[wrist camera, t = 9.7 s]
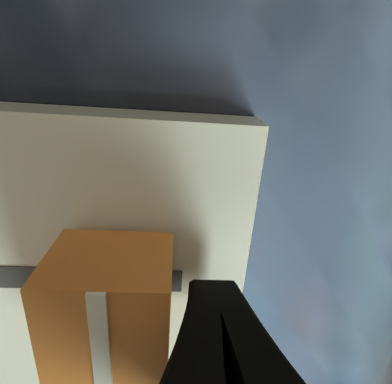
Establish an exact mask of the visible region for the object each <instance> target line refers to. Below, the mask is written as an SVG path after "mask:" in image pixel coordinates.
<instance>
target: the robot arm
mask: <svg viewBox="0 0 392 384" xmlns="http://www.w3.org/2000/svg"><path fill="white" fill-rule="evenodd" d="M159 384H306V383H305V382H304V380H303V379H302V378H301V377H300V375H299V374H298V373H297V372H296V370H295V369H294V368H293V366H292V365H291V364H290V363H289V361H288V360H287V359H286V357H285V356H284V355H283V353H282V352H281V351H280V349H279V348H278V346H277V345H276V344H275V342H274V341H273V339H272V338H271V337H270V335H269V334H268V332H267V331H266V330H265V328H264V327H263V325H262V324H261V322H260V321H259V319H258V318H257V316H256V315H255V313H254V311H253V310H252V308H251V307H250V305H249V304H248V302H247V300H246V299H245V297H244V295H243V294H242V292H241V290H240V289H239V287H238V285H237V284H236V283H235V281H234V280H197V279H193V280H192V281H190V282H189V288H188V300H187V305H186V309H185V313H184V317H183V320H182V323H181V327H180V330H179V333H178V336H177V339H176V342H175V345H174V348H173V350H172V353H171V355H170V358H169V360H168V363H167V365H166V368H165V370H164V373H163V376H162V378H161V380H160V383H159Z"/></svg>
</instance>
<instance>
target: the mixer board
mask: <svg viewBox="0 0 392 384" xmlns="http://www.w3.org/2000/svg"><path fill="white" fill-rule="evenodd" d="M268 129H269V126H268V125H266V124H265V123H264V122H262V121H261V120H260V119H258V118H257V117H254V116H237V115H220V114H204V113H187V112H170V111H153V110H136V109H119V108H102V107H85V106H68V105H52V104H35V103H18V102H1V101H0V384H40V383H39V378H38V373H37V369H36V364H35V359H34V355H33V350H32V345H31V340H30V336H29V331H28V326H27V321H26V317H25V312H24V307H23V303H22V298H21V293H20V289H21V288H22V287H23V285H24V284H25V282H26V281H27V279H28V278H29V277H30V275H31V274H32V272H33V271H34V270H35V268H36V267H37V265H38V264H39V263H40V261H41V260H42V258H43V257H44V256H45V254H46V253H47V251H48V250H49V249H50V247H51V246H52V244H53V243H54V241H55V240H56V239H57V237H58V236H59V234H60V233H61V232H62V230H63V229H83V230H112V231H141V232H170V233H174V240H173V265H172V290H171V315H170V339H169V358H170V355H171V353H172V350H173V348H174V345H175V342H176V339H177V336H178V333H179V330H180V327H181V323H182V320H183V317H184V313H185V309H186V305H187V300H188V288H189V282H190V281H192V280H193V279H197V280H234V281H235V283H236V284H237V285H238V287H239V289H240V290H241V292H243V286H244V280H245V274H246V267H247V261H248V255H249V248H250V242H251V236H252V229H253V223H254V217H255V211H256V204H257V198H258V192H259V185H260V179H261V173H262V167H263V160H264V154H265V148H266V141H267V135H268Z"/></svg>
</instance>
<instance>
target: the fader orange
mask: <svg viewBox="0 0 392 384" xmlns="http://www.w3.org/2000/svg"><path fill="white" fill-rule="evenodd" d="M173 240H174V233H170V232H141V231H112V230H83V229H63V230H62V232H61V233H60V234H59V236H58V237H57V239H56V240H55V241H54V243H53V244H52V246H51V247H50V249H49V250H48V251H47V253H46V254H45V256H44V257H43V258H42V260H41V261H40V263H39V264H38V265H37V267H36V268H35V270H34V271H33V272H32V274H31V275H30V277H29V278H28V279H27V281H26V282H25V284H24V285H23V287H22V288H21V289H20V293H21V298H22V303H23V307H24V312H25V317H26V321H27V326H28V331H29V336H30V340H31V345H32V350H33V355H34V359H35V364H36V369H37V373H38V378H39V383H40V384H159V383H160V380H161V378H162V376H163V373H164V370H165V368H166V365H167V363H168V360H169V339H170V315H171V290H172V265H173Z"/></svg>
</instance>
